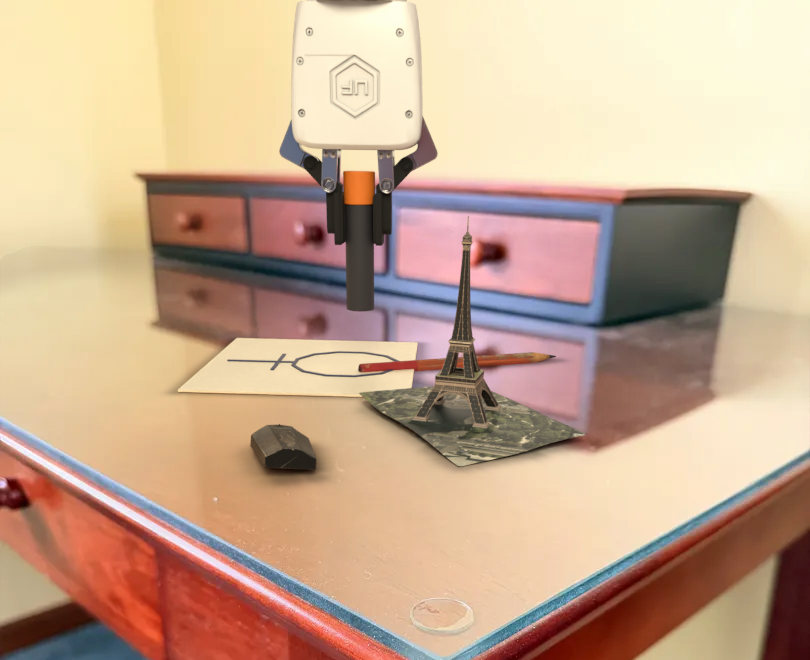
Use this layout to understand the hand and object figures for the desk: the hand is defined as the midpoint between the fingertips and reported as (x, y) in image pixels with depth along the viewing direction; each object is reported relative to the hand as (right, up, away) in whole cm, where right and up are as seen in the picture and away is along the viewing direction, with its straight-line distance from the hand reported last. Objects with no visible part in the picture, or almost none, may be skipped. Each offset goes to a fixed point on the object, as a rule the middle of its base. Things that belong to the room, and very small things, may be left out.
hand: (359, 241), depth 69 cm
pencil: (+9, -10, +4) cm, 14 cm away
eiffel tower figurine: (+8, -17, -12) cm, 22 cm away
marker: (0, -5, +2) cm, 6 cm away
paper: (-4, -10, +3) cm, 11 cm away
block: (-3, -21, -20) cm, 29 cm away
